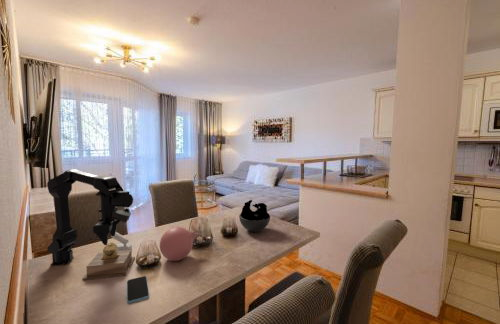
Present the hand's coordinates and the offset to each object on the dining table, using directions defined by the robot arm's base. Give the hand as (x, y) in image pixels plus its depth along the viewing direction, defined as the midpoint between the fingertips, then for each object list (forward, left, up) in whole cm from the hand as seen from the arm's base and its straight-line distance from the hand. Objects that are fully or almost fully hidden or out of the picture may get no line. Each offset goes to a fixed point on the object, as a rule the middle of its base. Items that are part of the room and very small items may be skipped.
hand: (109, 240), depth 101 cm
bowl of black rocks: (+74, +30, -13) cm, 81 cm away
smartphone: (+15, -18, -14) cm, 27 cm away
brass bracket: (0, 0, -12) cm, 12 cm away
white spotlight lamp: (-1, +18, -13) cm, 22 cm away
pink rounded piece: (+30, +4, -13) cm, 33 cm away
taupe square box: (0, 0, -13) cm, 13 cm away
